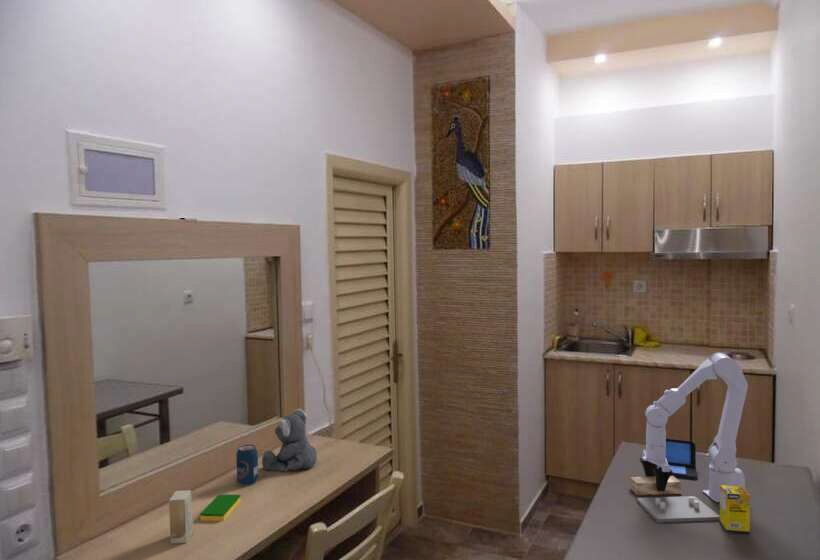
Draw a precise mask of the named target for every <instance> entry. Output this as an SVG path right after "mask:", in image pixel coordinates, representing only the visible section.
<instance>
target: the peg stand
mask: <svg viewBox="0 0 820 560" xmlns="http://www.w3.org/2000/svg"><path fill="white" fill-rule="evenodd" d="M636 502H637V503H638V504H639V505H640V506H641V507H642V508H643V509H644V511H646V512H647V513H648V515H650V516H651V517H652V518H653V520H655V521H656V523H678V522H679V523H680V522H684V523H685V522H711V521H712V522H715V521H720V514H717V512H716V511H714V510H713V509H711V507H709V506H708V505H706V504H705V503H704V502H703V501H701V500H700V499H699V498H698V497H697V496H695V495H690V496H689V495H687V496H685V495H684V496H661V497H660V496H658V497H655V496H654V497H637V498H636Z"/></svg>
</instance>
